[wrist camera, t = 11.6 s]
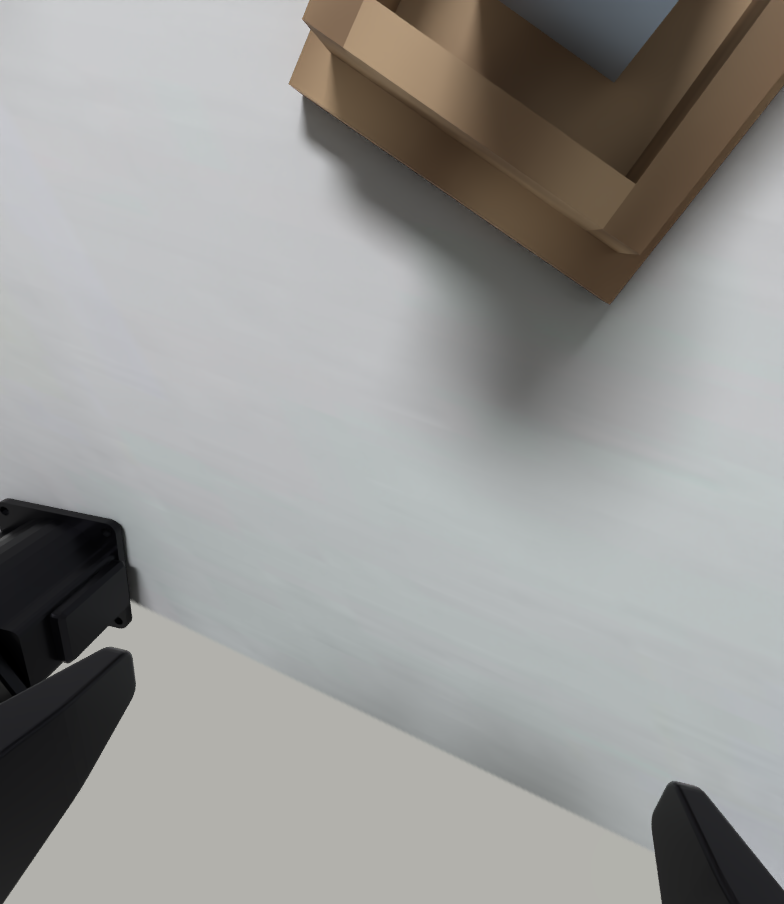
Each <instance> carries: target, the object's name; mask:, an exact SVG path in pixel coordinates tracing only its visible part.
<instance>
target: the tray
mask: <svg viewBox="0 0 784 904" xmlns="http://www.w3.org/2000/svg"><path fill="white" fill-rule="evenodd" d="M302 19H303V21H304V22H305V23H306V24H307V25H308V27H309V28H310V29H311V30H310V33H309V35H308V37H307V40H306V42H305V45H304V47H303V50H302V52H301V55H300V57H299V59H298V62H297V64H296V67H295V69H294V72H293V74H292V77H291V79H290V82H289V85H291V86H292V87H293V88H295V89H296V90H297V91H298V92H300V93H301V94H302V95H304V96H305V97H307V98H308V99H309V100H311V101H312V102H314V103H315V104H317V105H318V106H320V107H321V108H323V109H324V110H325V111H327V112H328V113H330V114H331V115H333V116H334V117H336V118H337V119H339V120H340V121H342V122H343V123H344V124H346V125H347V126H349V127H350V128H352V129H353V130H355V131H356V132H358V133H359V134H360V135H362V136H363V137H365V138H366V139H368V140H369V141H371V142H372V143H374V144H375V145H376V146H378V147H379V148H381V149H382V150H384V151H385V152H387V153H388V154H390V155H391V156H392V157H394V158H395V159H397V160H398V161H400V162H401V163H403V164H404V165H406V166H407V167H408V168H410V169H411V170H413V171H414V172H416V173H417V174H419V175H420V176H422V177H423V178H425V179H426V180H427V181H429V182H430V183H432V184H433V185H435V186H436V187H438V188H439V189H441V190H442V191H443V192H445V193H446V194H448V195H449V196H451V197H452V198H454V199H455V200H457V201H458V202H459V203H461V204H462V205H464V206H465V207H467V208H468V209H470V210H471V211H473V212H474V213H475V214H477V215H478V216H480V217H481V218H483V219H484V220H486V221H487V222H489V223H490V224H491V225H493V226H494V227H496V228H497V229H499V230H500V231H502V232H503V233H505V234H506V235H508V236H509V237H510V238H512V239H513V240H515V241H516V242H518V243H519V244H521V245H522V246H524V247H525V248H526V249H528V250H529V251H531V252H532V253H534V254H535V255H537V256H538V257H540V258H541V259H542V260H544V261H545V262H547V263H548V264H550V265H551V266H553V267H554V268H556V269H557V270H558V271H560V272H561V273H563V274H564V275H566V276H567V277H569V278H570V279H572V280H573V281H575V282H576V283H577V284H579V285H580V286H582V287H583V288H585V289H586V290H588V291H589V292H591V293H592V294H593V295H595V296H596V297H598V298H599V299H601V300H602V301H604V302H606V303H608V304H611V302H612V301H613V300H614V299H615V297H616V296H617V295H618V294H619V292H620V291H621V290H622V289H623V287H624V286H625V285H626V284H627V282H628V281H629V280H630V278H631V277H632V276H633V275H634V273H635V272H636V271H637V270H638V268H639V267H640V266H641V265H642V263H643V262H644V261H645V260H646V258H647V257H648V256H649V255H650V253H651V252H652V251H653V249H654V248H655V247H656V246H657V244H658V243H659V242H660V241H661V239H662V238H663V237H664V236H665V234H666V233H667V232H668V231H669V229H670V228H671V227H672V226H673V224H674V223H675V222H676V220H677V219H678V218H679V217H680V215H681V214H682V213H683V212H684V210H685V209H686V208H687V207H688V205H689V204H690V203H691V202H692V200H693V199H694V198H695V197H696V195H697V194H698V193H699V191H700V190H701V189H702V188H703V186H704V185H705V184H706V183H707V181H708V180H709V179H710V178H711V176H712V175H713V174H714V173H715V171H716V170H717V169H718V168H719V166H720V165H721V164H722V163H723V161H724V160H725V159H726V157H727V156H728V155H729V154H730V152H731V151H732V150H733V149H734V147H735V146H736V145H737V144H738V142H739V141H740V140H741V139H742V137H743V136H744V135H745V134H746V132H747V131H748V130H749V128H750V127H751V126H752V125H753V123H754V122H755V121H756V120H757V118H758V117H759V116H760V115H761V113H762V112H763V111H764V110H765V108H766V107H767V106H768V105H769V103H770V102H771V101H772V99H773V98H774V97H775V96H776V94H777V93H778V92H779V91H780V89H781V88H782V87H783V86H784V0H679V1H678V2H677V3H676V4H675V6H674V7H673V8H672V10H671V11H670V12H669V13H668V15H667V16H666V17H665V18H664V20H663V21H662V22H661V24H660V25H659V26H658V27H657V29H656V30H655V31H654V32H653V34H652V35H651V36H650V38H649V39H648V40H647V41H646V43H645V44H644V45H643V46H642V48H641V49H640V50H639V52H638V53H637V54H636V55H635V57H634V58H633V59H632V60H631V62H630V63H629V64H628V66H627V67H626V68H625V69H624V71H623V72H622V73H621V74H620V76H619V77H618V78H617V80H616V81H615V82H612V81H611V80H609V79H608V78H607V77H605V76H604V75H602V74H601V73H600V72H598V71H597V70H595V69H594V68H593V67H591V66H590V65H588V64H587V63H586V62H584V61H583V60H581V59H580V58H579V57H577V56H576V55H574V54H573V53H572V52H570V51H569V50H567V49H566V48H565V47H563V46H562V45H560V44H559V43H558V42H556V41H555V40H553V39H552V38H551V37H549V36H548V35H546V34H545V33H544V32H542V31H541V30H539V29H538V28H537V27H535V26H534V25H532V24H531V23H530V22H528V21H527V20H525V19H524V18H523V17H521V16H520V15H518V14H517V13H516V12H514V11H513V10H511V9H510V8H509V7H507V6H506V5H504V4H503V3H502V2H500V1H499V0H310V1H309V3H308V6H307V8H306V11H305V13H304V16H303V18H302Z"/></svg>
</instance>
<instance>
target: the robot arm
mask: <svg viewBox="0 0 784 904" xmlns="http://www.w3.org/2000/svg"><path fill="white" fill-rule="evenodd" d="M108 529H109V530H110V531H109V530H108ZM0 530H1V532H0V904H3V903H4V901H5V900H6V898H7V897H8V895H9V894H10V892H11V891H12V890H13V888H14V887H15V885H16V884H17V882H18V881H19V879H20V878H21V876H22V875H23V873H24V872H25V870H26V869H27V868H28V866H29V865H30V863H31V862H32V860H33V859H34V857H35V856H36V854H37V853H38V852H39V850H40V849H41V847H42V846H43V844H44V843H45V841H46V840H47V838H48V837H49V835H50V834H51V832H52V831H53V830H54V828H55V827H56V825H57V824H58V822H59V821H60V819H61V818H62V816H63V815H64V813H65V812H66V810H67V809H68V808H69V806H70V804H71V803H72V802H73V800H74V799H75V797H76V796H77V794H78V792H79V791H80V789H81V788H82V786H83V784H84V783H85V781H86V779H87V778H88V776H89V774H90V772H91V771H92V769H93V767H94V765H95V763H96V762H97V760H98V758H99V757H100V755H101V753H102V751H103V749H104V748H105V746H106V744H107V742H108V740H109V739H110V737H111V735H112V733H113V732H114V730H115V728H116V726H117V724H118V723H119V721H120V719H121V717H122V716H123V714H124V712H125V710H126V709H127V707H128V705H129V703H130V701H131V699H132V697H133V695H134V692H135V686H136V682H135V675H134V666H133V658H132V655H131V653H130V652H129V651H127V650H123V649H118V648H114V647H106V648H103V649H101V650H99V651H97V652H95V653H94V654H92V655H90V656H88V657H86V658H84V659H82V660H80V661H79V662H77V663H75V664H73V665H71V666H69V667H67V668H65V669H64V670H62V671H60V672H58V673H56V674H54V675H53V676H51V677H49V678H47V677H48V676H49V675H51V674H52V672H53V671H55V670H56V668H58V667H59V666H60V665H61V664H62V663H63V662H64V663H70V662H72V661H73V660H75V659H76V658H77V657H78V656H79V655H80V654H81V653H82V652H83V651H84V650H85V649H86V648H87V647H88V646H89V645H90V644H91V643H92V642H93V641H94V640H95V639H96V638H97V637H98V636H99V635H100V634H101V633H102V632H103V631H104V630H105V629H106V628H107V626H112V627H116V628H125V627H126V626H127V625H128V624H129V623H130V622H131V621H132V614H131V605H130V597H129V589H128V581H127V573H126V565H125V556H124V548H123V540H122V532H121V528H120V526H119V524H118V523H117V522H116V521H114V520H112V519H107V518H103V517H98V516H93V515H88V514H83V513H78V512H73V511H68V510H63V509H59V508H54V507H49V506H44V505H39V504H34V503H29V502H24V501H19V500H14V499H8V498H6V499H5V500H3V501H1V502H0ZM46 678H47V679H46ZM652 835H653V842H654V849H655V857H656V863H657V871H658V878H659V886H660V893H661V900H662V904H784V890H783V889H782V888H781V886H780V885H779V884H778V883H777V881H776V880H775V879H774V878H773V876H772V875H771V874H770V873H769V872H768V870H767V869H766V868H765V867H764V865H763V864H762V863H761V862H760V860H759V859H758V858H757V857H756V855H755V854H754V853H753V852H752V850H751V849H750V848H749V847H748V845H747V844H746V843H745V842H744V841H743V839H742V838H741V837H740V836H739V834H738V833H737V832H736V831H735V829H734V828H733V827H732V826H731V824H730V823H729V822H728V821H727V819H726V818H725V817H724V816H723V814H722V813H721V812H720V811H719V810H718V808H717V807H716V806H715V805H714V803H713V802H712V801H711V800H710V798H709V797H708V796H707V795H706V794H705V792H704V791H702V790H701V789H700V788H698V787H696V786H694V785H689V784H685V783H681V782H677V781H672V782H670V783H668V785H667V786H666V788H665V790H664V792H663V794H662V796H661V798H660V800H659V802H658V804H657V806H656V808H655V809H654V812H653V815H652Z"/></svg>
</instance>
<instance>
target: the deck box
mask: <svg viewBox="0 0 784 904" xmlns="http://www.w3.org/2000/svg"><path fill="white" fill-rule="evenodd" d="M499 1H500V2H502V3H503V4H504V5H506V6H507V7H509V8H510V9H511V10H513V11H514V12H516V13H517V14H518V15H520V16H521V17H523V18H524V19H525V20H527V21H528V22H530V23H531V24H532V25H534V26H535V27H537V28H538V29H539V30H541V31H542V32H544V33H545V34H546V35H548V36H549V37H551V38H552V39H553V40H555V41H556V42H558V43H559V44H560V45H562V46H563V47H565V48H566V49H567V50H569V51H570V52H572V53H573V54H574V55H576V56H577V57H579V58H580V59H581V60H583V61H584V62H586V63H587V64H588V65H590V66H591V67H593V68H594V69H595V70H597V71H598V72H600V73H601V74H602V75H604V76H605V77H607V78H608V79H609V80H611V81H612V82H615V81H616V80H617V78H618V77H619V76H620V74H621V73H622V72H623V71H624V69H625V68H626V67H627V66H628V64H629V63H630V62H631V60H632V59H633V58H634V57H635V55H636V54H637V53H638V52H639V50H640V49H641V48H642V46H643V45H644V44H645V43H646V41H647V40H648V39H649V38H650V36H651V35H652V34H653V32H654V31H655V30H656V29H657V27H658V26H659V25H660V24H661V22H662V21H663V20H664V18H665V17H666V16H667V15H668V13H669V12H670V11H671V10H672V8H673V7H674V6H675V4H676V3H677V2H678V1H679V0H499Z"/></svg>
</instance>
